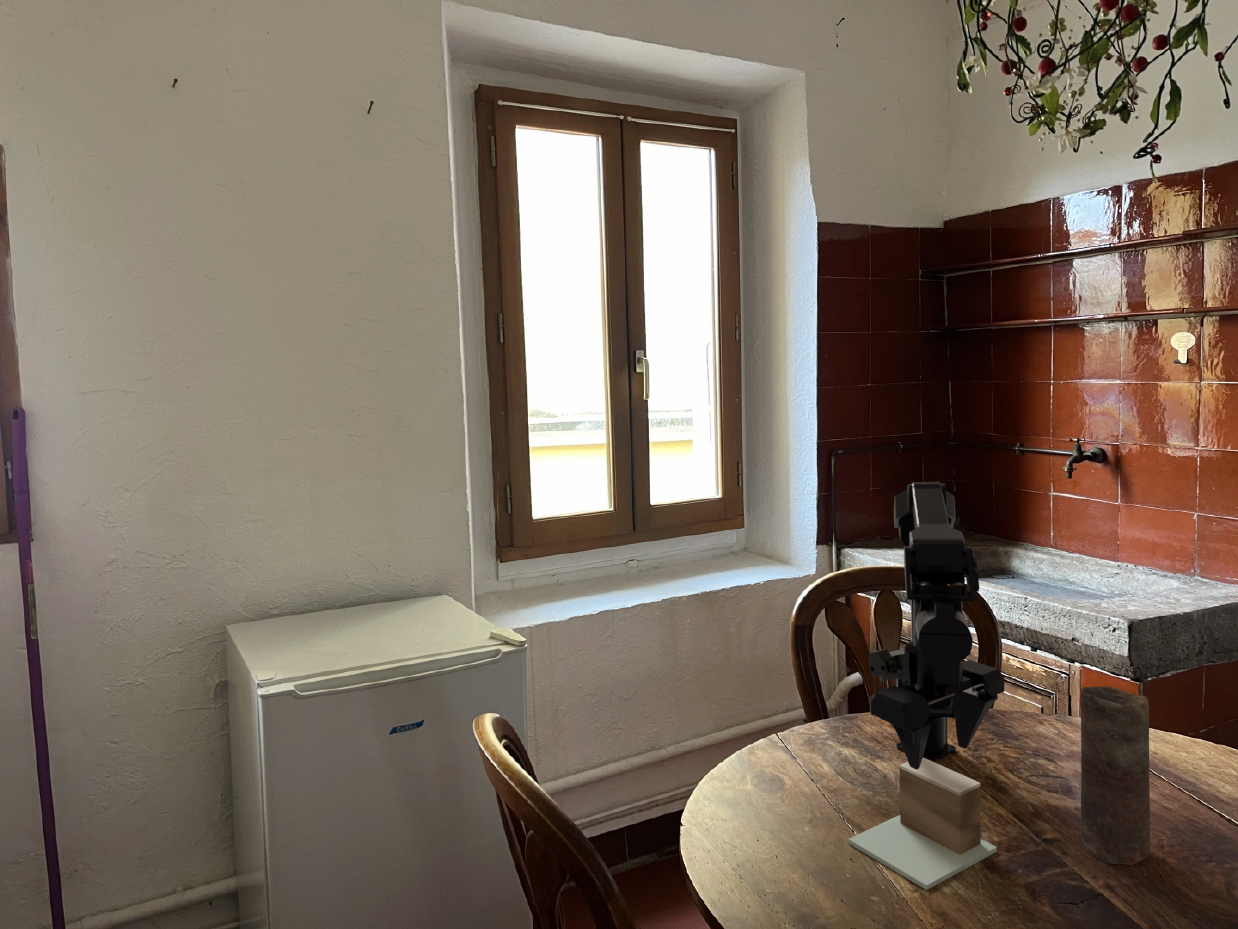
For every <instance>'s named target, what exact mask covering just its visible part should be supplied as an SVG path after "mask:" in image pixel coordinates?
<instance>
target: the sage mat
mask: <svg viewBox="0 0 1238 929" xmlns="http://www.w3.org/2000/svg"><path fill="white" fill-rule="evenodd" d="M847 839H848V841H847V842H848V844H849V845H850V846H852V847H853V848H855V849H857V850H859V851H860V852H862V853H864V854H866V855H867V856H869V857H870V858H873V860H875V861H877V862H879V863H880V864H882V865H884V866H885V867H887V868H889V869H891V870H893V871H894V872H896V873H898V874H899V875H900V876H902V877H904V878H905V879H907V880H909V881H911V882H912V883H914V884H916V885H918V886H919V887H921V888H922V889H924V890H925V891H928V890H929V889H931V888H934V887H936V886H937V885H939V884H940V883H943V882H944V881H946V880H948V879H949V878H951V877H953V876H954V875H957V874H959V873H961V872H962V871H964V870H966V869H968V868H970V867H972V866H974V865H975V864H978V863H979V862H981V861H983V860H984V859H986V858H988V857H990V856H991V855H994V854H995V853H997V851H998V848H997V845H993V844H992V843H990V842H989V841H986V840H984V839H982V838H981V844H979V845H978V846H976V847H974V848H972V849H970V850H968V851H966V852H964V853H963V854H961V855H959V854H957V853H955V852H953V851H951V850H950V849H948V848H946V847H944V846H942V845H940V844H938V843H937V842H935V841H933V840H931V839H929V838H927V837H925V836H923V835H922V834H920V833H918V832H916V831H914V830H912V829H910V828H908V827H907V826H905V825H903V824H901V823H900V814H899V815H897V816H894V817H893V818H890V819H888V820H886V821H884V822H882V823H879V824H877V825H875V826H873V827H871V828H869V829H867V830H865V831H862V832H860V833H858V834H856V835H853V836H852V837H849V838H847Z"/></svg>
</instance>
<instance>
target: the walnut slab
mask: <svg viewBox="0 0 1238 929" xmlns="http://www.w3.org/2000/svg"><path fill="white" fill-rule="evenodd" d="M981 809H982V808H981V782H979V781H977V780H975V779H973V778H970V777H968V776H965V775H963V774H961V773H959V772H956V771H955V770H952V769H950V768H948V767H945V766H943V765H942V764H938V763H937V762H934V761H930V760H928V759H925V758H922V762H921V764H920V767H919V769H917V770H916V769H914V768H912V767H910V765H909V762H908V761H906V762H903V763H902V764H899V815H900V823H901V824H903V825H905V826H907V827H908V828H910V829H912V830H914V831H916V832H918V833H920V834H922V835H923V836H925V837H927V838H929V839H931V840H933V841H935V842H937V843H938V844H940V845H942V846H944V847H946V848H948V849H950V850H951V851H953V852H955V853H957V854H959V855H961V854H963V853H964V852H966V851H968V850H970V849H972V848H974V847H976V846H978V845H979V844H981V839H982V837H981V835H982V834H981V829H982V828H981V826H982V825H981V824H982V823H981V820H982V819H981V818H982V817H981V812H982V811H981Z"/></svg>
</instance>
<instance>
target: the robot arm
mask: <svg viewBox="0 0 1238 929" xmlns="http://www.w3.org/2000/svg"><path fill="white" fill-rule="evenodd" d="M946 488H947V487H946V484H945V483H941V482H940V481H933V482H932V481H930V482H929V481H926V482H925V481H924V482H922V481H918V482H912V483H911V484H910V483H909V484H907V489H906V490H903V491H902V492H900V493H898V494H896V495H894V501H893V502H894V503H893V504H894V505H893V518H894V519H893V522H894V524H893V525H894V528H898V535H899V536H898V537H899V539H900V541H901V543H902V545H903V559H904V560H903V562H904V563H903V564H904V565H903V568H904V580H905V581H904V582H905V583H904V584H905V597H906V600H909V601H910V632H911V633H910V634H911V635H910V636H911V639H910V640H911V641H909V642H906V644H905V645H904V648H903V649H902V648H901V649H896V650H893V651H889V650H888V649H886V648H885V649H884V648H883V649H877V650H874V651H870V652H869V657H868V668H869V671H870V674H871V675H872V677H873V678H874V677H875V678H877V677H879V678H880V680H881V682H887V681H888V680H895V679H896V685H893V686H889V687H886V688H884V689H881V690H878V691H875V692H874V693H873V694H872V695H871V696H870V697H869V710H870V711H869V712H870V715H872V716H873V717H876V718H879V719H880V720H882V721H883V722H886V723H888V724H890V725H891V726H892V727H893V729H894V731H895V733H896V736H897V737H898V739H899V742H897V743H896V744H895V747H896V748H897V749H899V750H901V751H903V752H904V755H905V756H906V759H907V762H909V765H910V767H912V768H914V769H916V770H917V769H919V767H920V764H921V762H922V758H925V759H928V760H930V761H932V762H934V761H935V760H937V759H940V758H942V757H944V756H946V755H947V756H948V755H949V754H951V753H953V752H955V751H957V747H956V746H955V745H953V744H950V743H948V718H949V719H954V720H955V721H954V722H955V734H956V739H957V740H956V741H957V745H958V747H960V748H962V749H963V750H965V749H966V750H967V748H968V747H969V745H970V743H971V742H972V740H973V739H974V736H975V734H976V733H977V731H978V730H979V727H980V725H981V723H982V722H983V720H984V719H985V717H986V715H987V714H988V712H989V711H990V709H991V707H992V706H993V705H994V703H995V702H996V701H998V698H999V696H998V695H1000V694H1002V693H1004V692H1005V676H1004V675H1003V674H1002V672H1001V671H1000V670H999V668H997V667H993V666H990V665H987V664H983V663H980V662H977V661H973V660H970V659H967V658H968V656H970V655H971V652H972V650H973V645H974V643H973V635H972V632H971V630H970V628H969V625H968V622H967V619H966V617H965V614H964V613H963V603H964V602H976V593H977V592H978V593H979V592H980V581H979V580H980V579H979V570H978V563H977V556H976V555H975V554H974V553H973V548H971V546H966V541H965V538H964V534H963V532H961V531H960V530H959V529H958V530H957V529H955V528H954V525H955V523H956V505H955V503H956V502H955V495H954V494H952V493H951V492H949V491H947V490H946ZM965 583H966V586H964V584H965ZM966 589H967V590H966ZM966 659H967V660H966Z"/></svg>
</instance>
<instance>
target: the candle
mask: <svg viewBox="0 0 1238 929" xmlns="http://www.w3.org/2000/svg"><path fill="white" fill-rule="evenodd" d="M1149 703H1150V702H1149V698H1148V697H1147V696H1145V695H1139V694H1136V693H1132V692H1128V691H1126V690H1122V689H1120V688H1118V687H1114V686H1107V685H1106V686H1097V685H1096V686H1083V687H1082V688H1081V689H1080V769H1081V770H1080V771H1081V772H1080V835H1081V839H1082V843H1083V845H1084V846H1085V847H1086V848H1087V849H1088V850H1089V851H1091V852H1092V853H1093V854H1094V855H1095V856H1096V857H1097V859H1098V860H1100V861H1102V862H1104V863H1107V864H1113V865H1121V864H1122V865H1128V866H1129V865H1130V866H1133V865H1135V864H1137V863H1139V862H1140V861H1143V860H1144V859H1146V858H1148V857H1150V855H1151V854H1150V853H1151V806H1150V805H1151V800H1150V796H1151V795H1150V710H1149V709H1150V706H1149V705H1150V704H1149Z"/></svg>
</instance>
